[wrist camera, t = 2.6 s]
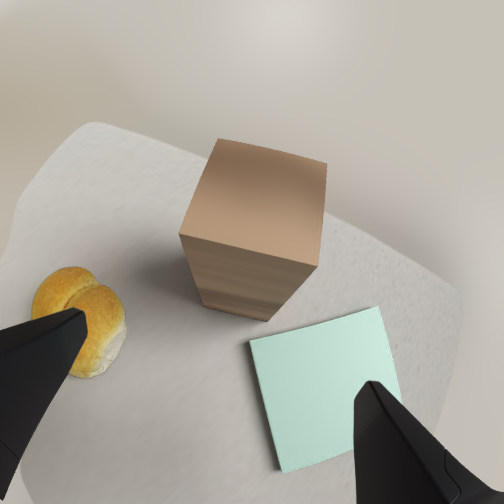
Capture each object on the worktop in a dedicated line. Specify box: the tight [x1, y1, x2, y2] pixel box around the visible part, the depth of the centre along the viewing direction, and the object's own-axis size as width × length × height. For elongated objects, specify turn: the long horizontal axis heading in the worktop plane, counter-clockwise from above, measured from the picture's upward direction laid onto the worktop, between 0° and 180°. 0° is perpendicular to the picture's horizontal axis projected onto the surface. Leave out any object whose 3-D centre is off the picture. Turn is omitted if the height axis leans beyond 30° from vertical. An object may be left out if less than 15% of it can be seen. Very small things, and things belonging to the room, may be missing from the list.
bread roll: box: [32, 267, 127, 379], centre depth 17 cm, size 8×9×4 cm
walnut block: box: [179, 138, 327, 322], centre depth 16 cm, size 5×5×12 cm
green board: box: [249, 306, 402, 473], centre depth 18 cm, size 11×11×1 cm
